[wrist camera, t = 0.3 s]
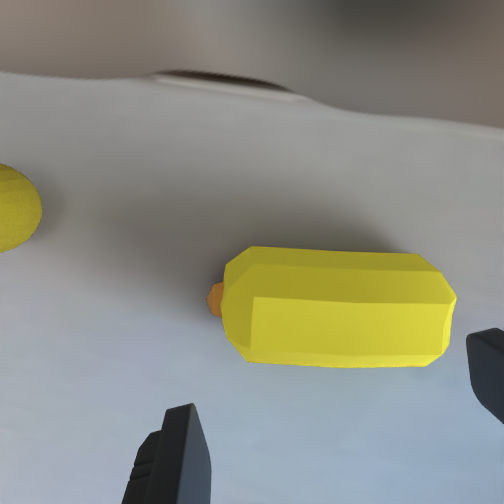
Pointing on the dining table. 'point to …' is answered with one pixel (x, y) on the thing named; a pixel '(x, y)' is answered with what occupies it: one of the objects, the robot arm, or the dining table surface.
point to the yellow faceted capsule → (334, 308)
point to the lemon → (17, 208)
